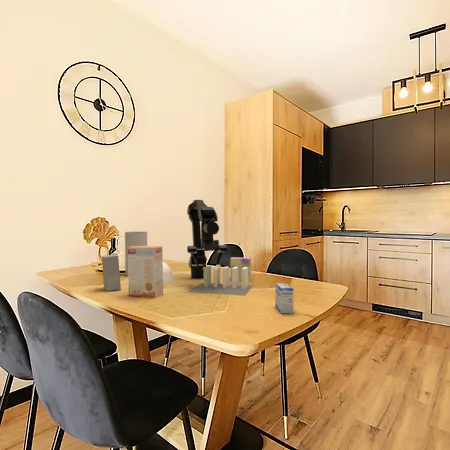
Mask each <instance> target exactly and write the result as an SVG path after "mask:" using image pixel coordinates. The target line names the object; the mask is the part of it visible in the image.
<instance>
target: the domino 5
mask: <svg viewBox="0 0 450 450" xmlns="http://www.w3.org/2000/svg"><path fill="white" fill-rule="evenodd" d="M241 285H242V289H246V288H247V287H248V285H249V281H248V267H244V268H242V281H241Z"/></svg>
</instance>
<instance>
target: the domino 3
mask: <svg viewBox="0 0 450 450" xmlns="http://www.w3.org/2000/svg"><path fill="white" fill-rule="evenodd" d="M221 268H222V267H221ZM221 272H222V284H223V288H227V287H228V286H229V284H230V265H229V266H224V267H223V268H222V271H221Z"/></svg>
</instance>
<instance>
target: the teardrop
mask: <svg viewBox="0 0 450 450" xmlns="http://www.w3.org/2000/svg"><path fill="white" fill-rule="evenodd" d="M165 282H167V283H171V282H173V271H172V269H171V267H170V266H169V265H168V263H167V262H166V261H164V260H163V284H166V283H165Z"/></svg>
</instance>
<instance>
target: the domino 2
mask: <svg viewBox="0 0 450 450" xmlns="http://www.w3.org/2000/svg"><path fill="white" fill-rule="evenodd" d="M215 265H216V264H215ZM221 268H222V267H221V264H217V265H216V266H214V267H213V277H212V278H213V281H212V283H213V287H216V288H217V286H218V285H219V284H221Z"/></svg>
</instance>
